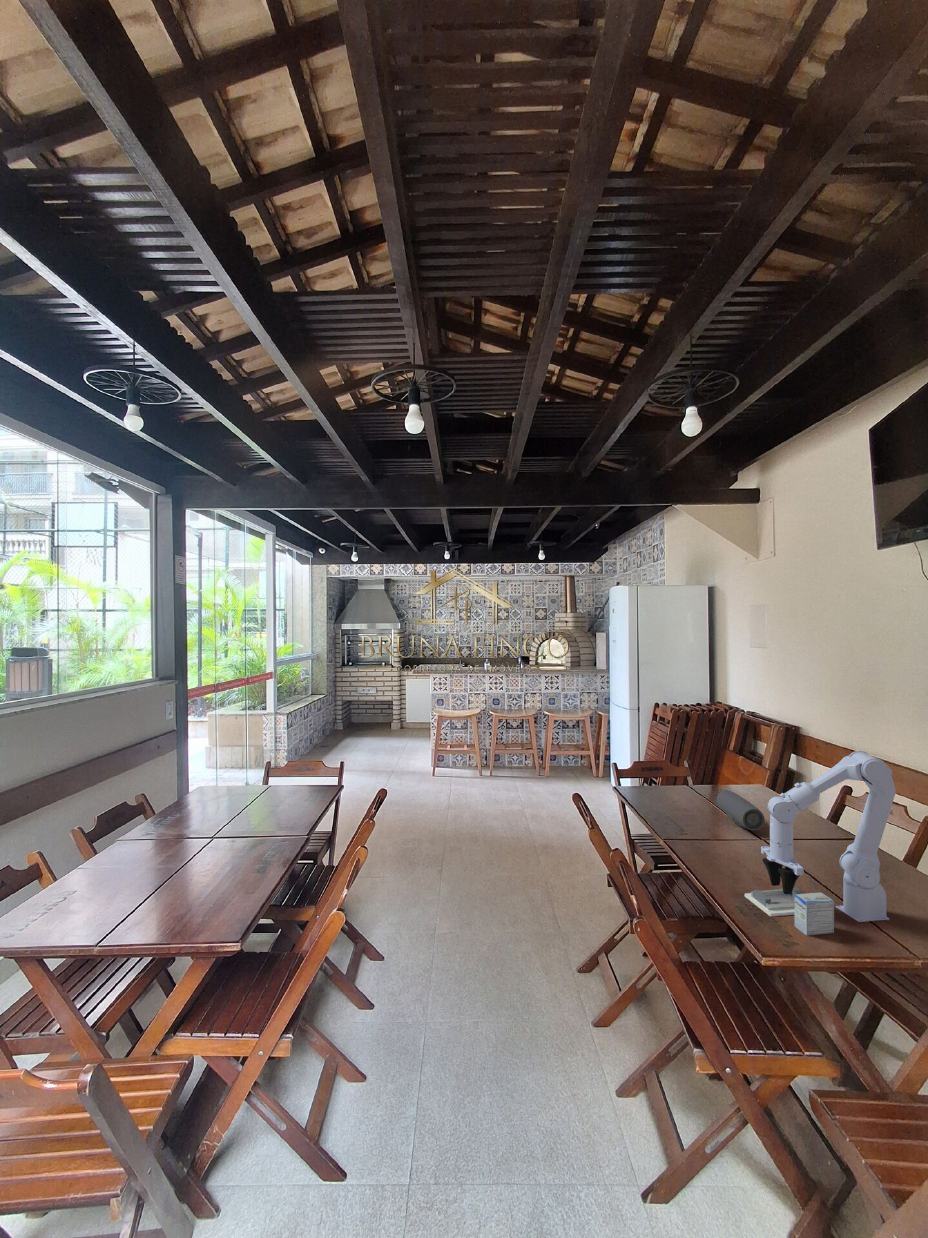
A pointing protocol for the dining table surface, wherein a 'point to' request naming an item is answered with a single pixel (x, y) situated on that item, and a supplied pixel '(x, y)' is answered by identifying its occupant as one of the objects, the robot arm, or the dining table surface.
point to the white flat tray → (774, 901)
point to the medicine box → (814, 913)
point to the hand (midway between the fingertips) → (781, 889)
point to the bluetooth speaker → (740, 810)
